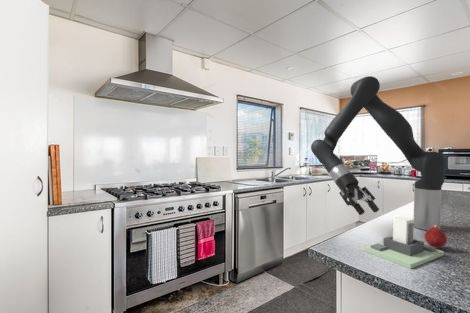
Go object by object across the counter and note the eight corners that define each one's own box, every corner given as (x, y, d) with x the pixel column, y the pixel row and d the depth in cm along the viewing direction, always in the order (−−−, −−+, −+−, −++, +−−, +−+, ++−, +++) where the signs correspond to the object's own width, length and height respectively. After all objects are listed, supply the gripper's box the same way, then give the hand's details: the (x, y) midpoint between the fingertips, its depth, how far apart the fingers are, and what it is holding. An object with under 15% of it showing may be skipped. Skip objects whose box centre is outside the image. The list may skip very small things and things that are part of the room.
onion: (450, 252, 80) (451, 228, 80) (430, 251, 81) (431, 227, 81) (439, 246, 86) (440, 223, 86) (420, 244, 87) (421, 222, 87)
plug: (399, 246, 82) (400, 216, 82) (415, 251, 78) (415, 219, 78) (392, 248, 80) (393, 217, 80) (407, 253, 76) (408, 221, 76)
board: (397, 240, 90) (397, 229, 90) (444, 255, 78) (444, 242, 78) (363, 250, 81) (363, 238, 81) (410, 268, 68) (410, 253, 68)
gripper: (337, 172, 93) (364, 208, 83) (360, 171, 100) (388, 204, 90) (325, 184, 98) (350, 220, 88) (348, 182, 105) (374, 215, 95)
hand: (370, 212), depth 89 cm, fingers open, 8 cm apart
